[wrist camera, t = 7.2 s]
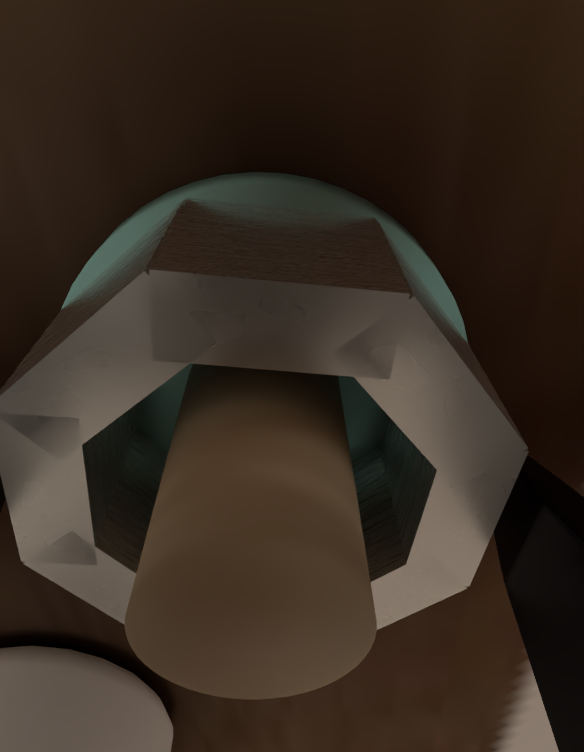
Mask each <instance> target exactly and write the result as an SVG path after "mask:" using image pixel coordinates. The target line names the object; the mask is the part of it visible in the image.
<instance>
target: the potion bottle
mask: <svg viewBox="0 0 584 752" xmlns="http://www.w3.org/2000/svg"><path fill="white" fill-rule="evenodd" d="M172 740H173V726H172V723H171V720H170V718H169V716H168V714H167V712H166V710H165V707H164V705H163V703H162V701H161V699H160V698H159V697H158V695H157V694H156V693H155V692H154V691H153V690H152V689H151V688H150V687H149V686H148V685H146V684H145V683H144V682H143V681H142V680H141V679H140V678H138V677H137V676H136V675H135V674H133V673H131V672H129V671H127V670H125V669H123V668H121V667H119V666H117V665H115V664H113V663H111V662H109V661H107V660H105V659H103V658H100V657H96V656H92V655H89V654H85V653H81V652H78V651H74V650H70V649H63V648H52V647H42V646H21V647H9V648H0V752H171V746H172Z"/></svg>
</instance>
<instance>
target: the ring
mask: <svg viewBox="0 0 584 752" xmlns="http://www.w3.org/2000/svg"><path fill="white" fill-rule="evenodd" d="M190 363H192V364H204V365H217V366H229V367H241V368H253V369H265V370H277V371H290V372H302V373H314V374H326V375H338V376H351V377H354V378H355V379H356V380H357V381H358V382H359V383H360V385H361V386H362V387H363V388H364V389H365V390H366V391H367V392H368V393H369V395H370V396H371V397H372V398H373V399H374V400H375V401H376V402H377V404H378V405H379V406H380V407H381V408H382V409H383V410H384V411H385V412H386V414H387V416H386V420H385V424H384V428H383V432H382V436H381V440H380V444H379V446H378V447H376V448H375V449H373V450H371V451H370V452H368V453H366V454H365V455H363V456H361V457H360V458H358V459H356V460H355V461H353V462H352V468H353V474H354V480H355V487H356V493H357V499H358V506H359V512H360V518H361V525H362V531H363V538H364V544H365V550H366V557H367V563H368V569H369V576H370V582H371V588H372V595H373V601H374V607H375V614H376V620H377V630H378V629H380V628H383V627H385V626H387V625H389V624H391V623H393V622H396V621H398V620H400V619H402V618H404V617H406V616H409V615H411V614H413V613H415V612H417V611H419V610H422V609H424V608H426V607H428V606H430V605H432V604H435V603H437V602H439V601H441V600H443V599H445V598H448V597H450V596H452V595H454V594H456V593H458V592H461V591H463V590H465V589H467V587H466V586H470V584H471V582H472V579H473V577H474V575H475V573H476V570H477V568H478V566H479V563H480V561H481V559H482V557H483V554H484V552H485V550H486V548H487V545H488V543H489V541H490V538H491V536H492V534H493V532H494V529H495V527H496V525H497V522H498V520H499V518H500V516H501V513H502V511H503V509H504V507H505V504H506V502H507V500H508V497H509V495H510V493H511V491H512V488H513V486H514V484H515V482H516V479H517V477H518V475H519V472H520V470H521V468H522V466H523V463H524V461H525V459H526V457H527V454H528V452H529V451H528V447H527V445H526V443H525V442H524V440H523V438H522V436H521V435H520V433H519V431H518V429H517V428H516V426H515V424H514V422H513V421H512V419H511V417H510V416H509V414H508V412H507V410H506V409H505V407H504V405H503V403H502V402H501V400H500V398H499V396H498V395H497V393H496V391H495V389H494V388H493V386H492V384H491V383H490V381H489V379H488V377H487V376H486V374H485V372H484V370H483V369H482V367H481V365H480V363H479V362H478V360H477V358H476V357H475V355H474V353H473V351H472V350H471V348H470V346H469V344H468V343H467V341H466V340H465V339H464V337H463V336H462V335H461V333H460V332H459V330H458V329H457V328H456V326H455V325H454V324H453V322H452V321H451V319H450V318H449V317H448V315H447V314H446V313H445V311H444V310H443V308H442V307H441V306H440V304H439V303H438V302H437V300H436V299H435V297H434V296H433V295H432V293H431V292H430V291H429V289H428V288H427V287H426V285H425V284H424V282H423V281H422V280H421V278H420V277H419V276H418V274H417V273H416V271H415V270H414V269H413V267H412V266H411V265H410V263H409V262H408V260H407V259H406V258H405V256H404V255H403V254H402V252H401V251H400V249H399V248H398V247H397V245H396V244H395V243H394V241H393V240H392V238H391V237H390V236H389V234H388V233H387V232H386V230H385V229H384V227H383V226H382V225H381V223H380V222H379V221H378V219H376V220H375V218H374V217H370V216H360V215H350V214H341V213H331V212H321V211H311V210H302V209H292V208H282V207H272V206H263V205H253V204H243V203H233V202H224V201H214V200H204V199H194V198H187V200H186V201H185V199H183V200H182V201H181V202H180V203H179V204H178V205H177V206H176V207H174V208H173V209H172V210H171V211H170V212H169V213H168V214H167V215H166V216H164V217H163V218H162V219H161V220H160V221H159V222H158V223H157V224H156V225H154V226H153V227H152V228H151V229H150V230H149V231H148V232H147V233H146V234H144V235H143V236H142V237H141V238H140V239H139V240H138V241H137V242H136V243H134V244H133V245H132V246H131V247H130V248H129V249H128V250H127V251H126V252H124V253H123V254H122V255H121V256H120V257H119V258H118V259H117V260H115V261H114V262H113V263H112V264H111V265H110V266H109V267H108V268H107V269H105V270H104V271H103V272H102V273H101V274H100V275H99V276H98V277H97V278H95V279H94V280H93V281H92V282H91V283H90V284H89V285H88V286H87V287H85V288H84V289H83V290H82V291H81V292H80V293H79V294H78V295H77V296H75V297H74V298H73V299H72V300H71V301H70V302H69V303H68V304H67V305H65V306H64V307H63V308H62V310H61V311H60V312H59V313H58V315H57V316H56V317H55V319H54V320H53V321H52V323H51V324H50V325H49V326H48V328H47V329H46V330H45V332H44V333H43V334H42V336H41V337H40V338H39V340H38V341H37V342H36V343H35V345H34V346H33V347H32V349H31V350H30V351H29V353H28V354H27V355H26V357H25V358H24V359H23V360H22V362H21V363H20V364H19V366H18V367H17V368H16V370H15V371H14V372H13V374H12V375H11V376H10V377H9V379H8V380H7V381H6V383H5V384H4V385H3V387H2V388H1V389H0V475H1V480H2V484H3V488H4V492H5V496H6V500H7V505H8V509H9V513H10V517H11V521H12V525H13V530H14V534H15V538H16V542H17V546H18V550H19V555H20V559H21V561H23V562H24V563H23V564H24V565H26V566H28V567H29V568H31V569H33V570H34V571H36V572H38V573H39V574H41V575H43V576H44V577H46V578H48V579H49V580H51V581H53V582H54V583H56V584H58V585H59V586H61V587H63V588H64V589H66V590H68V591H69V592H71V593H73V594H74V595H76V596H78V597H79V598H81V599H83V600H84V601H86V602H88V603H89V604H91V605H93V606H94V607H96V608H98V609H99V610H101V611H103V612H104V613H106V614H108V615H109V616H111V617H113V618H114V619H116V620H118V621H119V622H121V623H123V624H124V625H125V615H126V611H127V607H128V603H129V600H130V596H131V592H132V588H133V584H134V581H135V577H136V573H137V569H138V565H139V562H140V558H141V554H142V550H143V546H144V543H145V539H146V535H147V531H148V528H149V524H150V520H151V516H152V512H153V509H154V505H155V501H156V497H157V493H158V490H159V486H160V482H161V478H162V475H163V471H164V467H165V463H166V459H167V456H168V453H167V452H166V451H164V450H163V449H162V448H161V447H159V446H158V445H157V444H156V443H155V442H153V441H152V440H151V439H150V438H148V437H147V436H146V435H145V434H143V433H142V432H141V431H140V430H139V429H137V419H136V404H137V403H138V402H140V401H141V400H142V399H144V398H145V397H146V396H147V395H149V394H150V393H151V392H153V391H154V390H155V389H157V388H158V387H159V386H161V385H162V384H163V383H165V382H166V381H167V380H169V379H170V378H171V377H173V376H174V375H175V374H177V373H178V372H179V371H181V370H182V369H183V368H184V367H186V366H187V365H188V364H190Z"/></svg>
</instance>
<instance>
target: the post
mask: <svg viewBox="0 0 584 752" xmlns="http://www.w3.org/2000/svg"><path fill="white" fill-rule="evenodd" d="M187 198H194V199H204V200H214V201H224V202H233V203H243V204H253V205H263V206H272V207H282V208H292V209H302V210H311V211H321V212H331V213H341V214H350V215H360V216H370V217H374V218H375V220H376V219H378V221H379V222H380V223H381V225H382V226H383V227H384V229H385V230H386V232H387V233H388V234H389V236H390V237H391V238H392V240H393V241H394V243H395V244H396V245H397V247H398V248H399V249H400V251H401V252H402V254H403V255H404V256H405V258H406V259H407V260H408V262H409V263H410V265H411V266H412V267H413V269H414V270H415V271H416V273H417V274H418V276H419V277H420V278H421V280H422V281H423V282H424V284H425V285H426V287H427V288H428V289H429V291H430V292H431V293H432V295H433V296H434V297H435V299H436V300H437V302H438V303H439V304H440V306H441V307H442V308H443V310H444V311H445V313H446V314H447V315H448V317H449V318H450V319H451V321H452V322H453V324H454V325H455V326H456V328H457V329H458V330H459V332H460V333H461V335H462V336H463V337H464V339H465V340H466V341H467V336H466V332H465V327H464V322H463V319H462V317H461V314H460V312H459V309H458V307H457V304H456V301H455V299H454V297H453V295H452V293H451V292H450V290H449V288H448V287H447V285H446V283H445V282H444V280H443V278H442V276H441V275H440V273H439V272H438V270H437V268H436V267H435V265H434V264H433V262H432V260H431V259H430V257H429V256H428V254H427V253H426V252H425V250H424V249H423V248H422V247H421V245H420V244H419V243H418V242H417V241H416V239H415V238H414V237H413V236H412V234H411V233H409V232H408V231H407V230H406V229H405V228H404V227H403V226H402V225H401V224H400V223H398V222H397V221H396V220H395V219H394V218H393V217H392V216H391V215H389V214H388V213H386V212H385V211H383V210H382V209H380V208H379V207H377V206H376V205H374V204H373V203H371V202H370V201H368V200H366V199H364V198H362V197H360V196H358V195H356V194H354V193H352V192H350V191H348V190H346V189H344V188H342V187H339V186H335V185H332V184H329V183H326V182H323V181H320V180H317V179H314V178H308V177H303V176H297V175H292V174H286V173H269V172H247V173H236V174H226V175H220V176H216V177H212V178H207V179H203V180H199V181H195V182H192V183H189V184H187V185H184V186H182V187H179V188H177V189H174V190H172V191H169V192H167V193H165V194H163V195H161V196H160V197H158V198H156V199H154V200H153V201H151V202H149V203H147V204H146V205H144V206H142V207H141V208H140V209H139V210H137V211H136V212H135V213H133V214H132V215H131V216H130V217H128V218H127V219H126V220H125V221H123V222H122V223H121V224H120V225H119V226H118V227H117V228H116V229H115V230H114V231H113V233H112V234H111V235H110V236H109V237H108V238H107V239H106V240H105V241H104V242H103V243H102V245H101V246H100V247H99V248H98V250H97V251H96V252H95V253H94V255H93V256H92V257H91V258H90V259H89V261H88V262H87V263H86V265H85V266H84V268H83V269H82V271H81V272H80V274H79V275H78V277H77V278H76V280H75V281H74V283H73V284H72V286H71V288H70V291H69V293H68V295H67V297H66V299H65V302H64V304H63V306H62V308H63V307H64V306H65V305H67V304H68V303H69V302H70V301H71V300H72V299H73V298H74V297H75V296H77V295H78V294H79V293H80V292H81V291H82V290H83V289H84V288H85V287H87V286H88V285H89V284H90V283H91V282H92V281H93V280H94V279H95V278H97V277H98V276H99V275H100V274H101V273H102V272H103V271H104V270H105V269H107V268H108V267H109V266H110V265H111V264H112V263H113V262H114V261H115V260H117V259H118V258H119V257H120V256H121V255H122V254H123V253H124V252H126V251H127V250H128V249H129V248H130V247H131V246H132V245H133V244H134V243H136V242H137V241H138V240H139V239H140V238H141V237H142V236H143V235H144V234H146V233H147V232H148V231H149V230H150V229H151V228H152V227H153V226H154V225H156V224H157V223H158V222H159V221H160V220H161V219H162V218H163V217H164V216H166V215H167V214H168V213H169V212H170V211H171V210H172V209H173V208H174V207H176V206H177V205H178V204H179V203H180V202H181V201H182V200H183V199H185V201H186V200H187ZM62 308H61V310H62ZM467 343H468V341H467ZM386 416H387V414H386V412H385V411H384V410H383V409H382V408H381V407H380V406H379V405H378V404H377V402H376V401H375V400H374V399H373V398H372V397H371V396H370V395H369V393H368V392H367V391H366V390H365V389H364V388H363V387H362V386H361V385H360V383H359V382H358V381H357V380H356V379H355V378H354V377H351V376H338V375H326V374H314V373H302V372H290V371H277V370H265V369H253V368H241V367H229V366H217V365H204V364H192V363H190V364H188V365H187V366H186V367H184V368H183V369H182V370H181V371H179V372H178V373H177V374H175V375H174V376H173V377H171V378H170V379H169V380H167V381H166V382H165V383H163V384H162V385H161V386H159V387H158V388H157V389H155V390H154V391H153V392H151V393H150V394H149V395H147V396H146V397H145V398H144V399H142V400H141V401H140V402H138V403H137V404H136V419H137V429H139V430H140V431H141V432H142V433H143V434H145V435H146V436H147V437H148V438H150V439H151V440H152V441H153V442H155V443H156V444H157V445H158V446H159V447H161V448H162V449H163V450H164V451H166V452H167V453H168V456H167V459H166V463H165V467H164V471H163V475H162V478H161V482H160V486H159V490H158V493H157V497H156V501H155V505H154V509H153V512H152V516H151V520H150V524H149V528H148V531H147V535H146V539H145V543H144V546H143V550H142V554H141V558H140V562H139V565H138V569H137V573H136V577H135V581H134V584H133V588H132V592H131V596H130V600H129V603H128V607H127V611H126V615H125V632H126V637H127V639H128V642H129V644H130V646H131V648H132V649H133V651H134V652H135V654H136V655H137V657H138V658H139V659H140V660H141V661H142V662H143V663H144V664H145V665H146V666H147V667H149V668H150V669H151V670H152V671H154V672H155V673H157V674H158V675H160V676H161V677H163V678H165V679H167V680H169V681H171V682H173V683H175V684H177V685H179V686H182V687H184V688H187V689H190V690H193V691H196V692H200V693H204V694H208V695H213V696H218V697H225V698H234V699H272V698H280V697H288V696H292V695H297V694H302V693H305V692H309V691H312V690H315V689H318V688H320V687H323V686H326V685H328V684H330V683H332V682H334V681H336V680H338V679H340V678H341V677H343V676H344V675H346V674H348V673H349V672H350V671H351V670H353V669H354V668H355V667H356V666H358V664H359V663H360V662H361V661H362V660H363V659H364V658H365V657H366V655H367V654H368V652H369V651H370V649H371V647H372V645H373V643H374V640H375V636H376V631H377V620H376V614H375V607H374V601H373V595H372V588H371V582H370V576H369V569H368V563H367V557H366V550H365V544H364V538H363V531H362V525H361V518H360V512H359V506H358V499H357V493H356V487H355V480H354V474H353V468H352V462H353V461H355V460H356V459H358V458H360V457H361V456H363V455H365V454H366V453H368V452H370V451H371V450H373V449H375V448H376V447H378V446H379V444H380V440H381V436H382V432H383V428H384V424H385V420H386Z"/></svg>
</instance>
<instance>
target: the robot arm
mask: <svg viewBox="0 0 584 752" xmlns="http://www.w3.org/2000/svg"><path fill="white" fill-rule="evenodd" d="M5 499H6V496H5V492H4V488H3V484H2V480H1V475H0V512H1V510H2V507H3V504H4V501H5ZM494 536H495V541H496V546H497V550H498V555H499V560H500V565H501V570H502V574H503V578H504V582H505V586H506V589H507V592H508V596H509V599H510V602H511V605H512V608H513V611H514V614H515V617H516V620H517V624H518V627H519V630H520V633H521V636H522V639H523V642H524V645H525V648H526V651H527V654H528V657H529V661H530V664H531V667H532V670H533V673H534V676H535V679H536V682H537V685H538V688H539V691H540V694H541V697H542V701H543V704H544V707H545V710H546V713H547V716H548V719H549V722H550V725H551V728H552V731H553V734H554V737H555V741H556V744H557V747H558V750H559V752H584V497H583V496H582V495H580V494H579V493H578V492H576V491H575V490H574V489H572V488H571V487H570V486H568V485H567V484H566V483H564V482H563V481H562V480H560V479H559V478H558V477H556V476H555V475H554V474H552V473H551V472H550V471H548V470H547V469H546V468H544V467H543V466H542V465H540V464H539V463H538V462H536V461H535V460H534V459H532V458H531V457H529V456H527V457H526V459H525V461H524V463H523V466H522V468H521V470H520V472H519V475H518V477H517V479H516V482H515V484H514V486H513V488H512V491H511V493H510V495H509V497H508V500H507V502H506V504H505V507H504V509H503V511H502V513H501V516H500V518H499V520H498V522H497V525H496V527H495V529H494Z"/></svg>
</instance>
